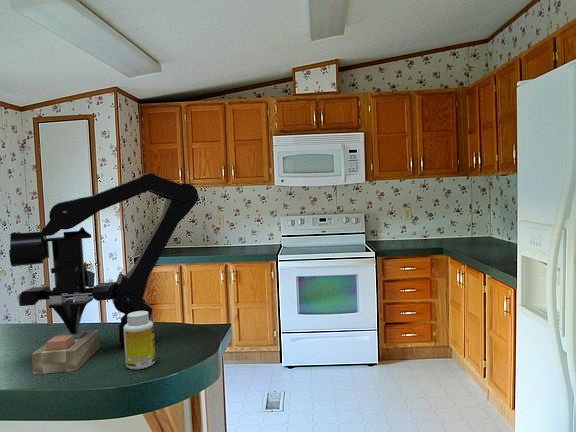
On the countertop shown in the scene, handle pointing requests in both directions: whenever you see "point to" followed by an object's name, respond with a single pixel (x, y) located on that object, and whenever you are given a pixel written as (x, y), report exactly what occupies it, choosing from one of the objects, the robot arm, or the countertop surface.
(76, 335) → the light blue square block
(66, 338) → the key terracotta
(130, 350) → the supplement bottle
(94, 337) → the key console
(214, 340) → the countertop surface
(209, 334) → the countertop surface
